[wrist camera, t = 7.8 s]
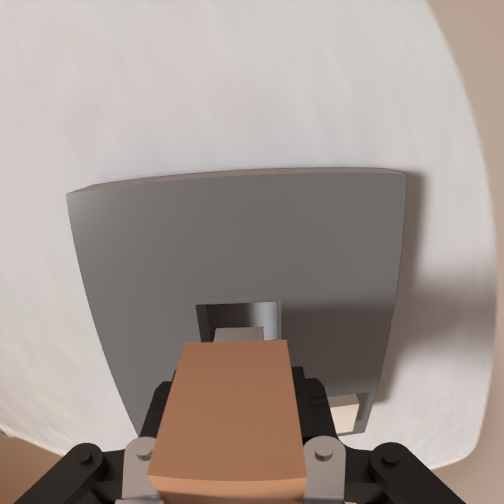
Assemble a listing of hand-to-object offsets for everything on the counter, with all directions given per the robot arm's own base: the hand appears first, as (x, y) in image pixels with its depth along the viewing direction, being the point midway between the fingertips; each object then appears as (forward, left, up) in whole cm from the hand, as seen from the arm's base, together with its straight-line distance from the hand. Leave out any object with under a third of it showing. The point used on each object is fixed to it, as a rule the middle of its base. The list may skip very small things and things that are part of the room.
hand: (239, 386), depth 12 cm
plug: (0, 0, -2) cm, 2 cm away
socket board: (0, 0, -5) cm, 5 cm away
